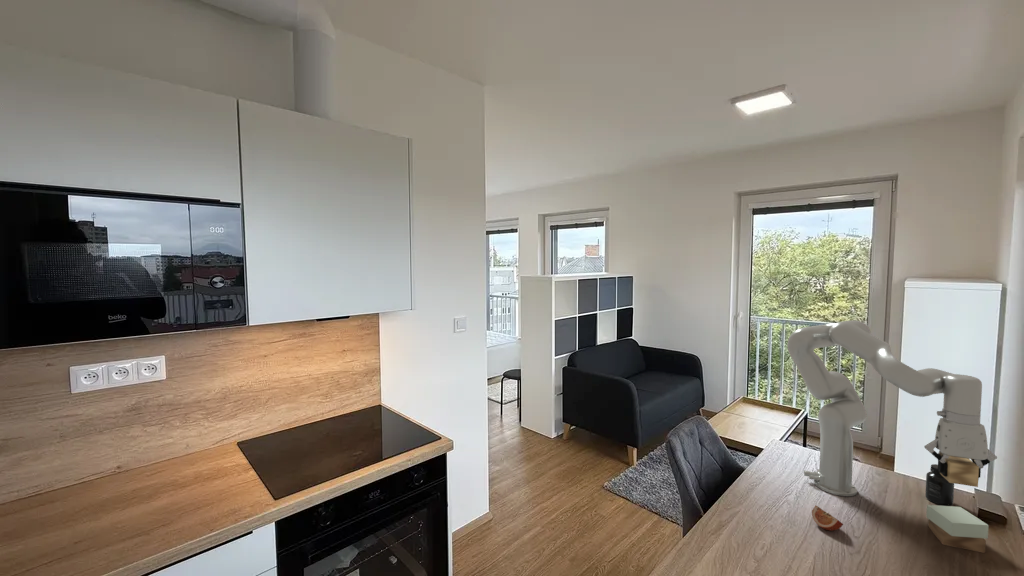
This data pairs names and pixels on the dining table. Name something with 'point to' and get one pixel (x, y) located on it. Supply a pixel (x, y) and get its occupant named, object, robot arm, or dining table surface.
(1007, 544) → the dining table surface
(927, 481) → the supplement bottle
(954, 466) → the oak cube
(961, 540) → the block
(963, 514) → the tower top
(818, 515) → the fruit slice
